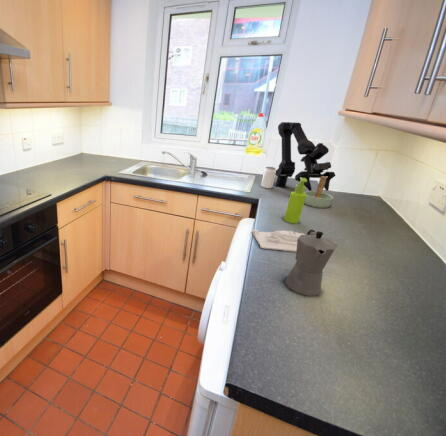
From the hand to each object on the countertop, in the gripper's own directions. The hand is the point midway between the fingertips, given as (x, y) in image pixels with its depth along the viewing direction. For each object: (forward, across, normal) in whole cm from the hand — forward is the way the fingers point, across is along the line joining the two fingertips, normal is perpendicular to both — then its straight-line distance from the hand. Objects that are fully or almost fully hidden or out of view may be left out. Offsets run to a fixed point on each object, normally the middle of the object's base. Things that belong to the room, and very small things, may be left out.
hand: (319, 190), depth 154 cm
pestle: (+5, 0, +4) cm, 7 cm away
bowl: (+5, 0, +5) cm, 7 cm away
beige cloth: (+36, -43, -26) cm, 62 cm away
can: (-15, -11, +26) cm, 32 cm away
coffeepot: (+55, -54, -45) cm, 89 cm away
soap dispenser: (+22, -28, -11) cm, 37 cm away
